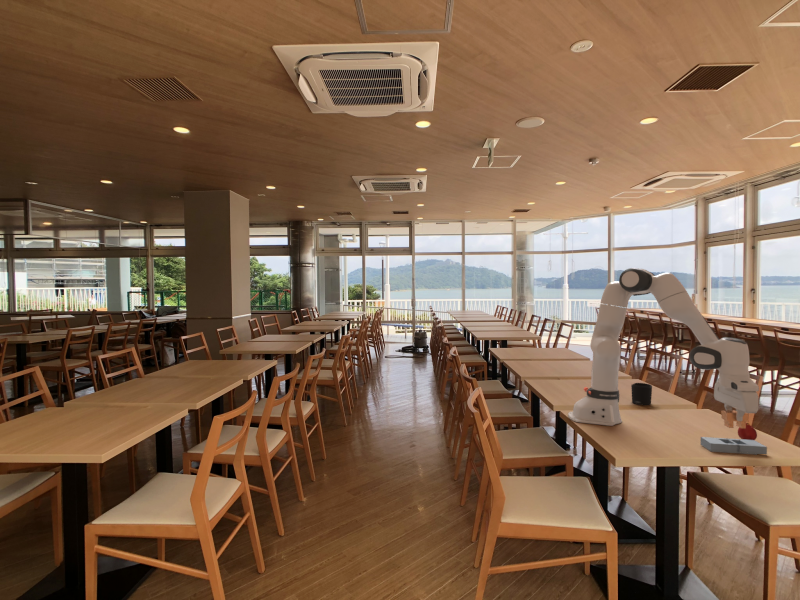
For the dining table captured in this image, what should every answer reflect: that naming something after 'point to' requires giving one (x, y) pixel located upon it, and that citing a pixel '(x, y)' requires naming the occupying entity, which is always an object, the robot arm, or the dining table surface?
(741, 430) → the onion
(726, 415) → the clip
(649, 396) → the pen holder
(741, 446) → the grey flat block
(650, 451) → the dining table surface
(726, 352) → the robot arm
